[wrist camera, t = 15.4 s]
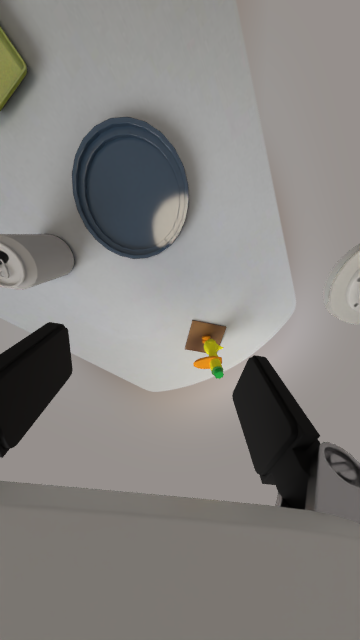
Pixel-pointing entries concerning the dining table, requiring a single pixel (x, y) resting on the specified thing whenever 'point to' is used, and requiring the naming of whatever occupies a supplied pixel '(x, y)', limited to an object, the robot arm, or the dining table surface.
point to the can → (32, 259)
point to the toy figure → (211, 357)
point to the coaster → (201, 330)
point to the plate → (130, 187)
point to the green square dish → (9, 69)
